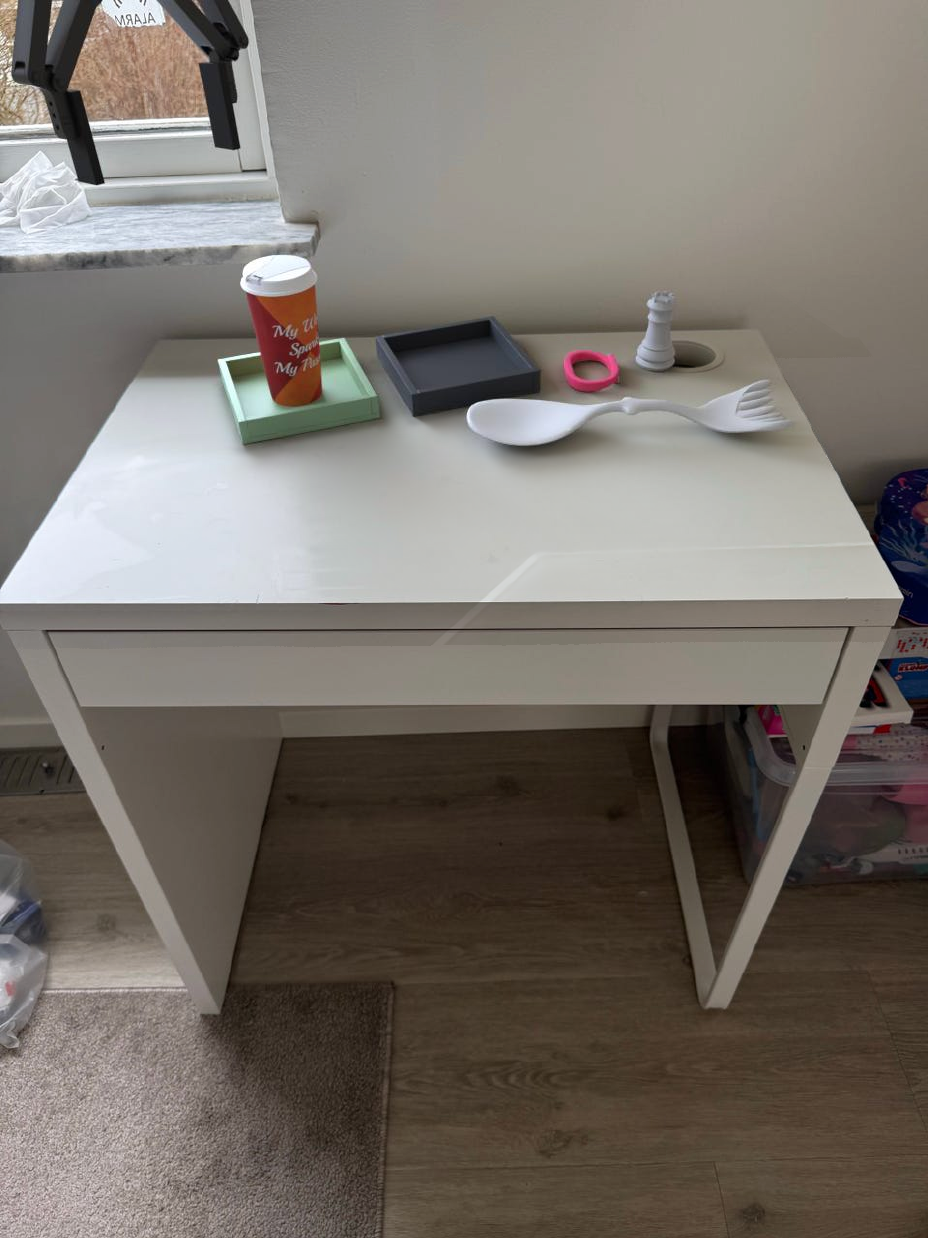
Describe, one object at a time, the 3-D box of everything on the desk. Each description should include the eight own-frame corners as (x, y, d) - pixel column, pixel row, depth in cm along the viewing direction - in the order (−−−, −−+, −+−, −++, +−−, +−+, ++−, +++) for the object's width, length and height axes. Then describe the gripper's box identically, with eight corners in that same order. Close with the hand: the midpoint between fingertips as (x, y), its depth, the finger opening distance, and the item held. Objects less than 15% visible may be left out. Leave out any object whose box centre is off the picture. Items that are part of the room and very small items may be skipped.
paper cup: (297, 418, 99) (276, 289, 90) (246, 397, 103) (222, 271, 94) (347, 388, 104) (332, 262, 95) (297, 369, 108) (278, 246, 98)
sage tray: (242, 444, 97) (238, 422, 95) (222, 380, 107) (217, 359, 106) (379, 417, 100) (377, 395, 99) (346, 358, 111) (344, 337, 109)
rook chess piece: (680, 359, 109) (690, 292, 103) (665, 376, 106) (674, 307, 100) (644, 351, 110) (652, 284, 105) (628, 366, 108) (635, 298, 102)
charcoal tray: (413, 416, 101) (411, 394, 99) (377, 356, 111) (375, 336, 109) (540, 391, 104) (540, 370, 102) (493, 336, 114) (493, 315, 112)
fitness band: (623, 392, 103) (624, 379, 102) (569, 394, 103) (570, 382, 102) (610, 357, 109) (611, 345, 108) (560, 360, 109) (560, 347, 108)
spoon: (789, 449, 94) (796, 419, 92) (468, 460, 94) (467, 430, 92) (765, 404, 101) (771, 374, 98) (466, 413, 101) (465, 384, 98)
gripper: (200, -163, 75) (251, 131, 88) (-114, -158, 61) (2, 192, 74) (260, -171, 71) (304, 138, 84) (-61, -167, 57) (51, 205, 70)
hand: (163, 164), depth 79 cm, fingers open, 13 cm apart
